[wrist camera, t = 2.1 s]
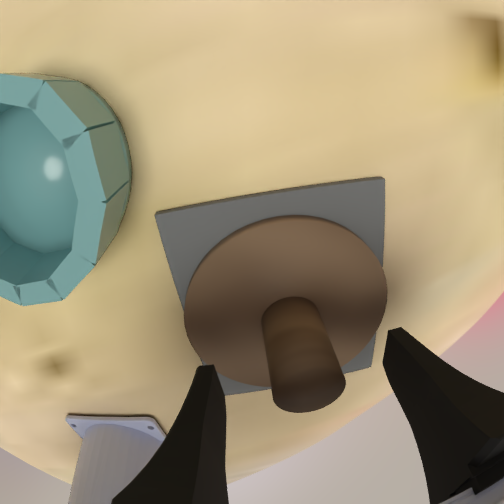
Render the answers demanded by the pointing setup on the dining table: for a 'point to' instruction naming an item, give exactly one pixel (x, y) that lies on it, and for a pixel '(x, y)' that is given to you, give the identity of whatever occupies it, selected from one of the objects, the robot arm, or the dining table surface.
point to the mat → (267, 206)
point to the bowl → (56, 184)
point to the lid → (286, 307)
